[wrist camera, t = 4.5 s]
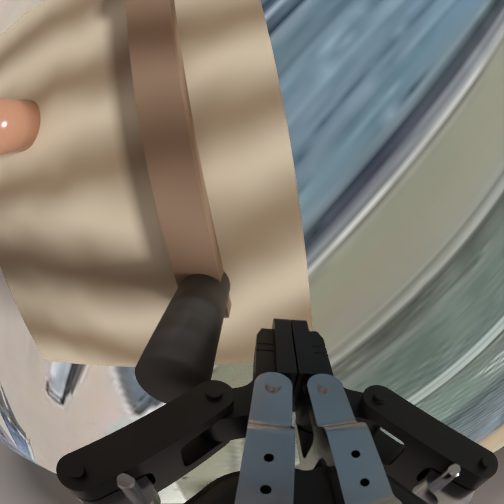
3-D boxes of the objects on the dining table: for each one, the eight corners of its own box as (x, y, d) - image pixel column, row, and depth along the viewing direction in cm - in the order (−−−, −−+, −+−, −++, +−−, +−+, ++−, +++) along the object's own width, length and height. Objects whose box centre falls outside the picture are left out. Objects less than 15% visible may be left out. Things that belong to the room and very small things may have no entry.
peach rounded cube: (7, 113, 13) (-28, 114, 10) (38, 90, 13) (1, 86, 9) (12, 159, 15) (-25, 166, 11) (43, 140, 14) (3, 144, 11)
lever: (130, -17, 10) (68, -75, 2) (175, -33, 10) (130, -105, 2) (189, 308, 17) (150, 406, 10) (236, 303, 17) (220, 407, 10)
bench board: (-12, 61, 13) (-24, 59, 11) (239, -61, 10) (237, -75, 8) (54, 349, 23) (45, 360, 22) (310, 336, 21) (314, 353, 19)
